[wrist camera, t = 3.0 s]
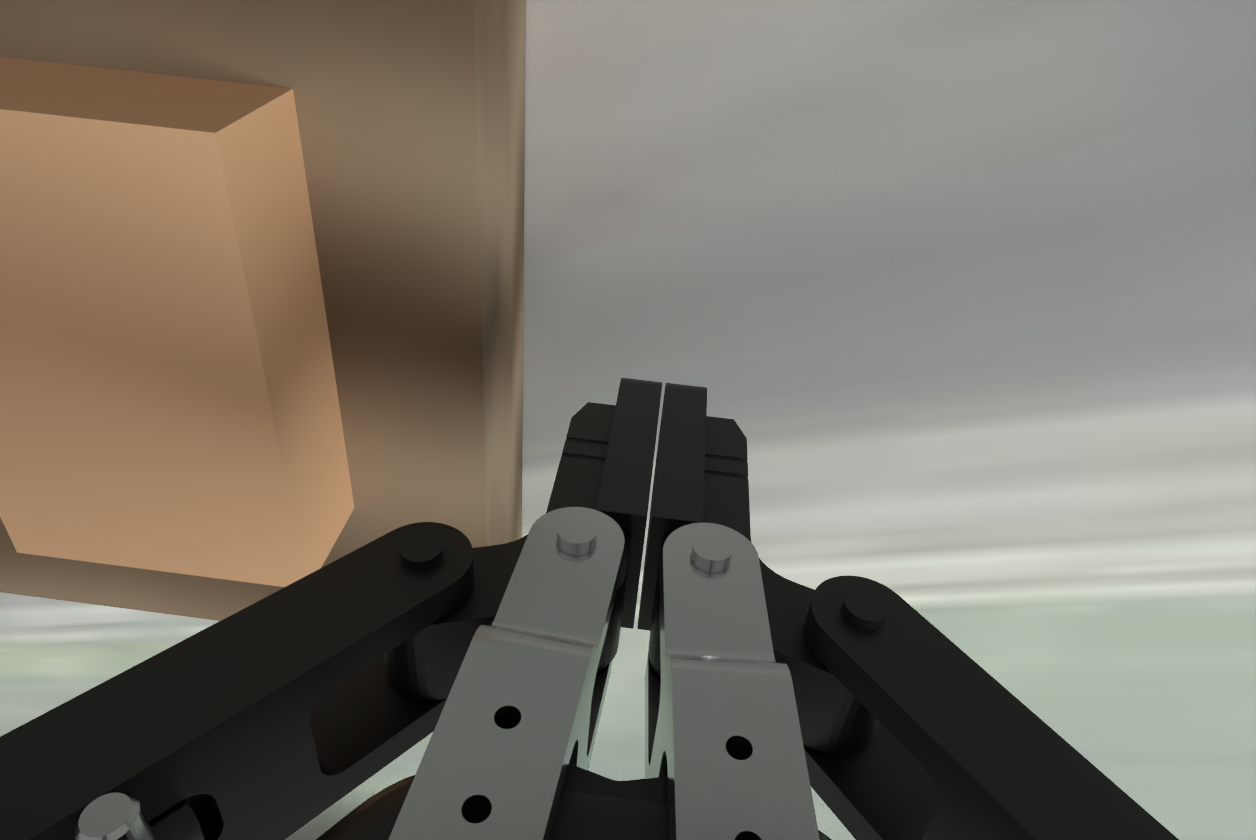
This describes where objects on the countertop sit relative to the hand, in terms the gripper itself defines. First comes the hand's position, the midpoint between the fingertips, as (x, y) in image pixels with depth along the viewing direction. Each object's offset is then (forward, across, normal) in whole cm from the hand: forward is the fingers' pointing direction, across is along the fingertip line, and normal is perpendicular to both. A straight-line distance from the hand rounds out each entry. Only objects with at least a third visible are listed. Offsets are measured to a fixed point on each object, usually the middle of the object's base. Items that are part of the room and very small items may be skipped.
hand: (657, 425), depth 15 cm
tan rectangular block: (0, +10, 0) cm, 10 cm away
